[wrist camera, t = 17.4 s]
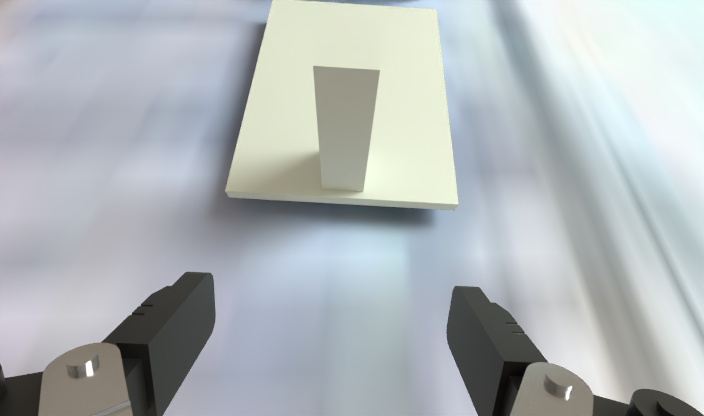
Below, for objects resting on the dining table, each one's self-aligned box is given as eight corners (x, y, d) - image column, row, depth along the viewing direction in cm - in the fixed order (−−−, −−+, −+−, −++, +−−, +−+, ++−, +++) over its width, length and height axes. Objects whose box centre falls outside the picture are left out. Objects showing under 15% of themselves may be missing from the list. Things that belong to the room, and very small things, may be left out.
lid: (276, 20, 31) (248, -148, 21) (430, 30, 31) (473, -132, 21) (234, 206, 22) (152, 65, 12) (448, 218, 22) (535, 89, 13)
